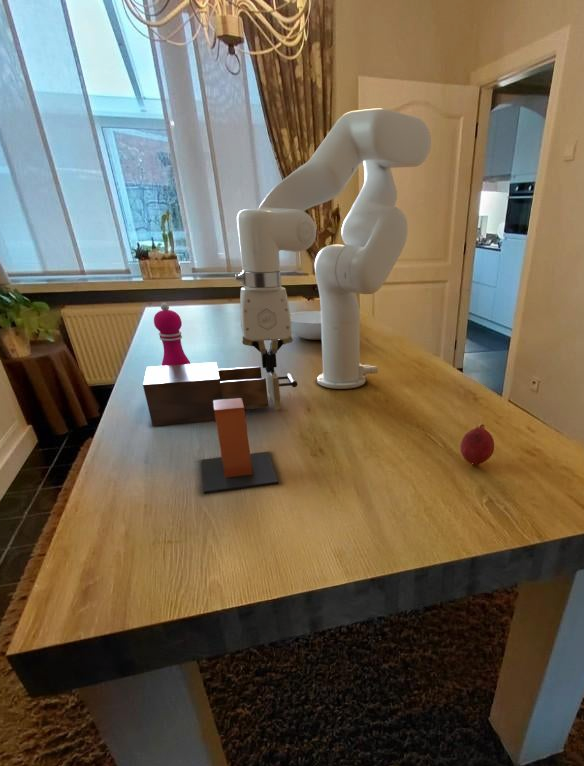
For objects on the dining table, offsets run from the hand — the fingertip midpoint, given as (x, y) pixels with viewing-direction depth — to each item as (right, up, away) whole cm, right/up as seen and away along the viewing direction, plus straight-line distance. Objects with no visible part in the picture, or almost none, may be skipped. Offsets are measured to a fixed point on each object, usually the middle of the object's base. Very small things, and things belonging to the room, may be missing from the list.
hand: (269, 370), depth 110 cm
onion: (+41, -23, -21) cm, 52 cm away
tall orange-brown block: (-1, -24, -24) cm, 34 cm away
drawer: (-3, -6, +3) cm, 8 cm away
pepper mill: (-25, -1, +13) cm, 28 cm away
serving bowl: (+4, +29, +60) cm, 67 cm away
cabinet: (-18, -9, 0) cm, 20 cm away
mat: (-1, -25, -24) cm, 34 cm away
